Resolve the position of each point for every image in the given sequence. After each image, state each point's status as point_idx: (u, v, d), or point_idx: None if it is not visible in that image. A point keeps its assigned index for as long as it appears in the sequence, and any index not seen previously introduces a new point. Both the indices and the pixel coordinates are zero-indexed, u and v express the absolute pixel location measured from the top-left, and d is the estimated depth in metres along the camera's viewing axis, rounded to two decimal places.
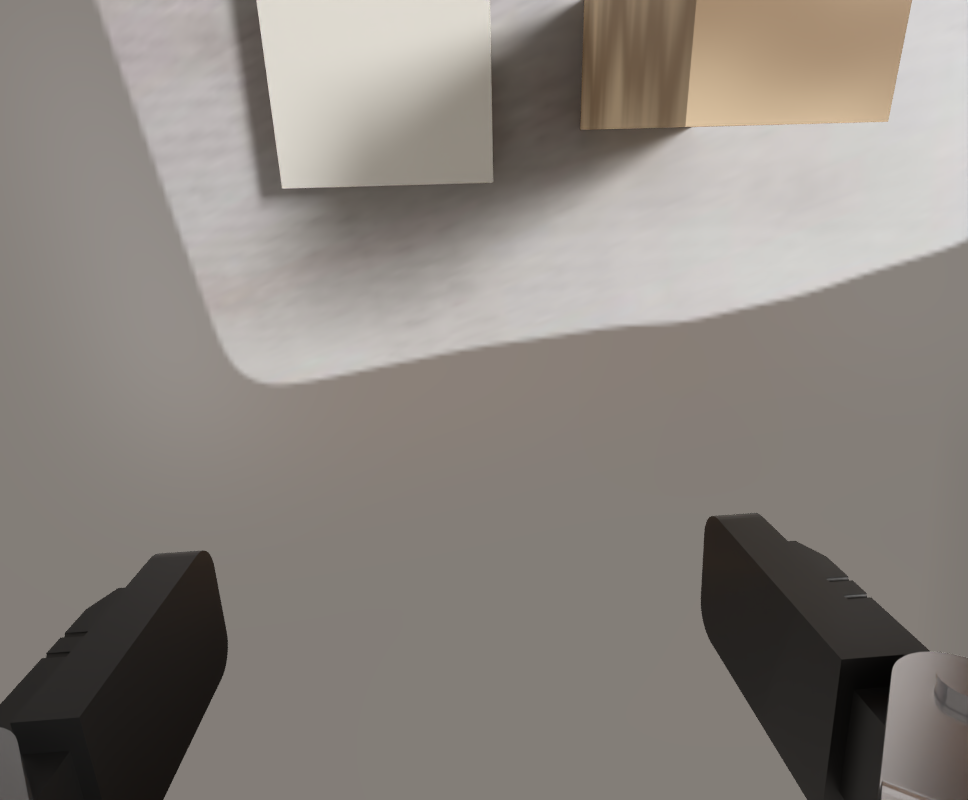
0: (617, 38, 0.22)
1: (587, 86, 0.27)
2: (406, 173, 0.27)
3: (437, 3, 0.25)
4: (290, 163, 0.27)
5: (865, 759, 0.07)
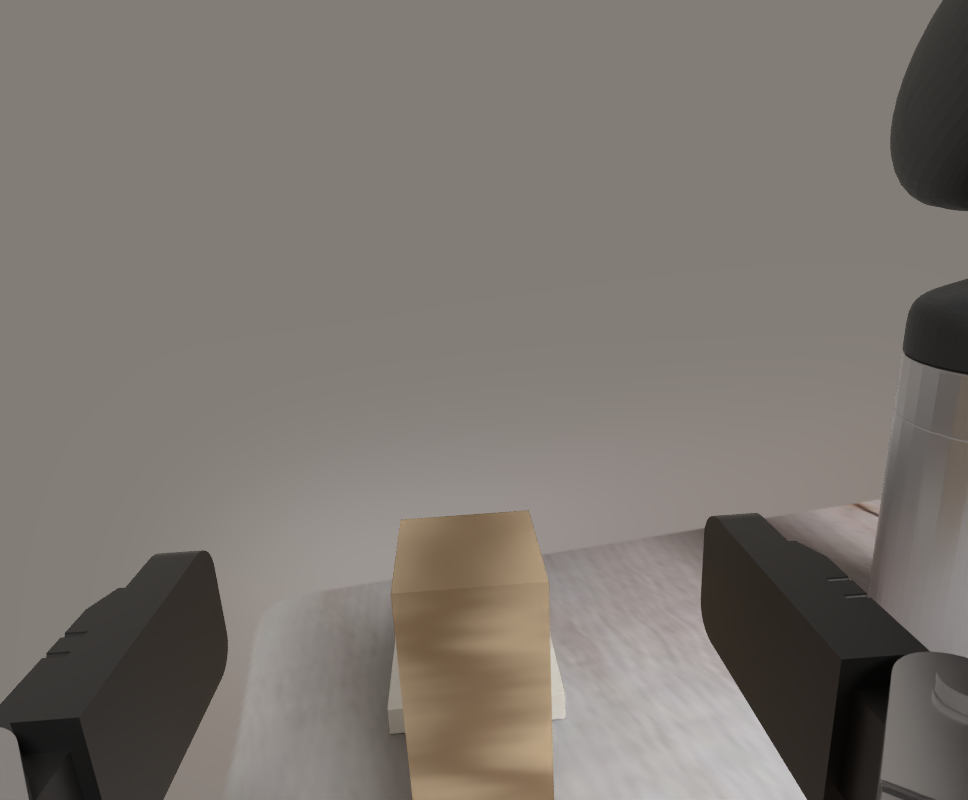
0: None
1: None
2: None
3: None
4: None
5: (865, 759, 0.07)
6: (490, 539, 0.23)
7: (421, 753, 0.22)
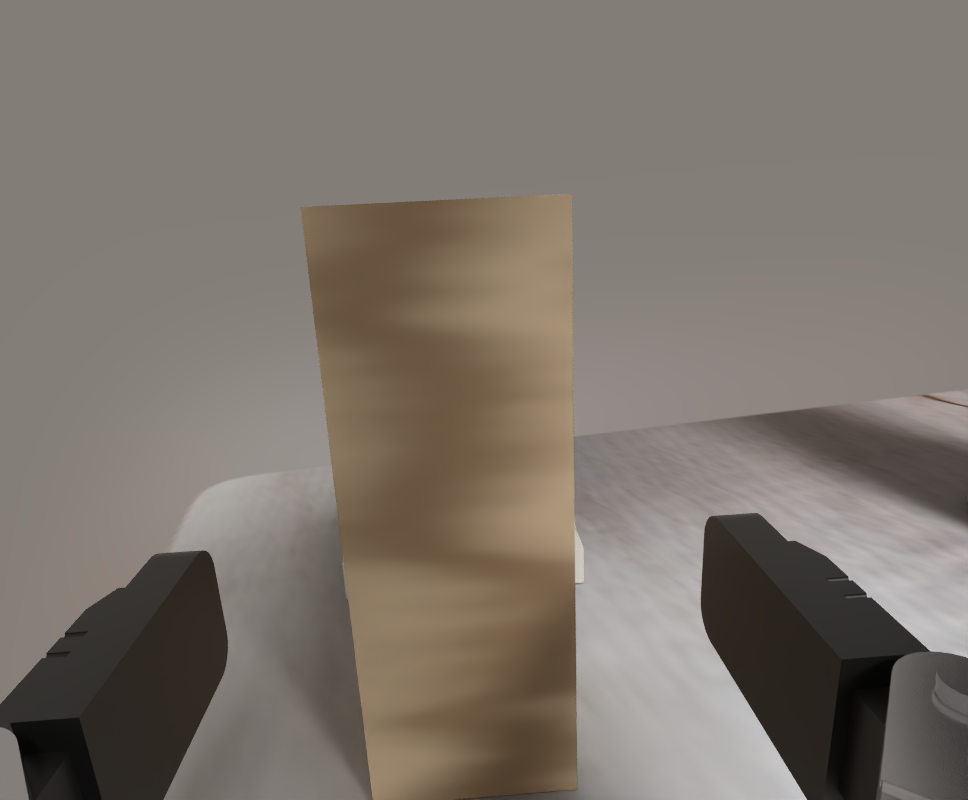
0: None
1: None
2: None
3: None
4: None
5: (865, 759, 0.07)
6: None
7: (361, 519, 0.14)
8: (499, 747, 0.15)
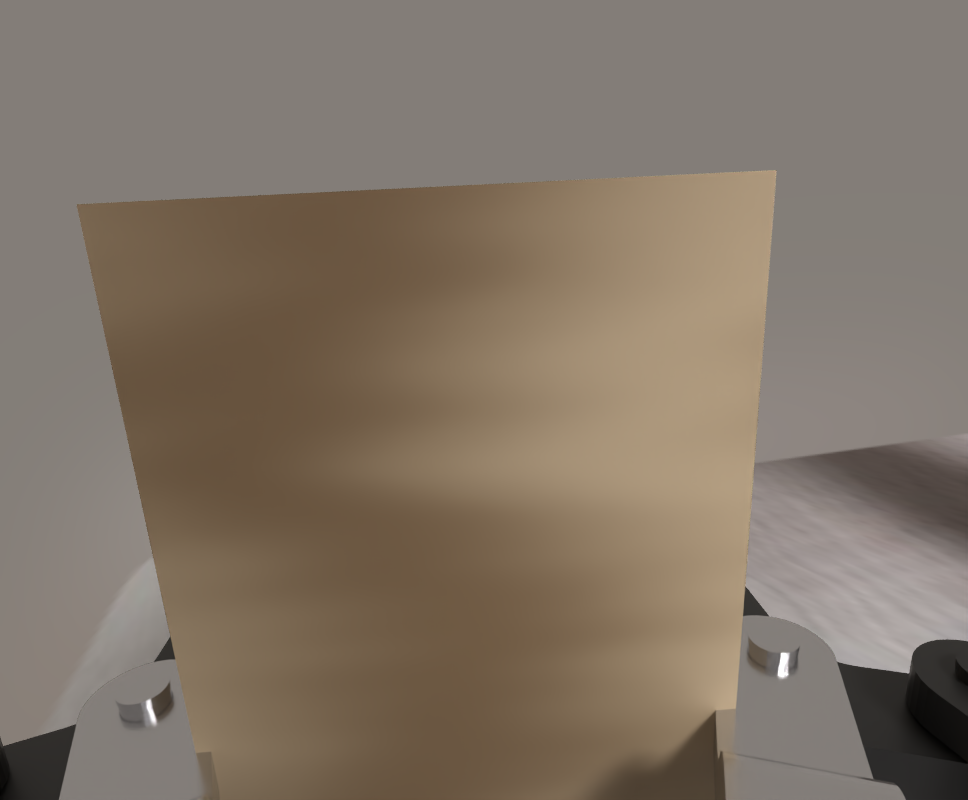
0: None
1: None
2: None
3: None
4: None
5: None
6: None
7: None
8: None
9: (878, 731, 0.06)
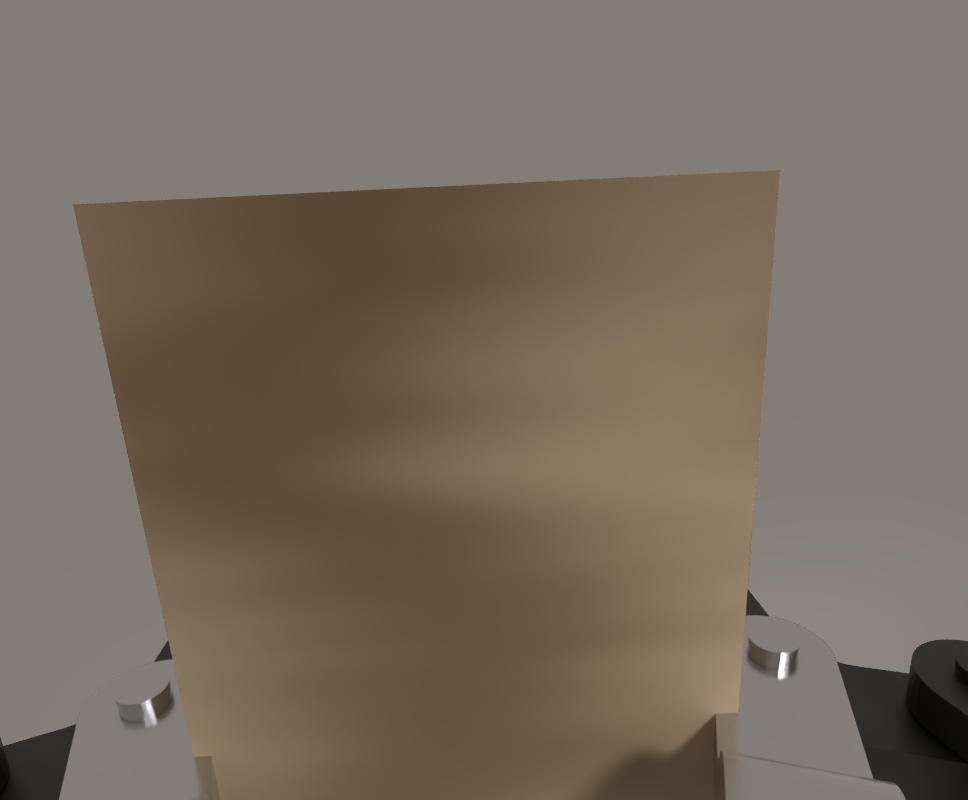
0: None
1: None
2: None
3: None
4: None
5: None
6: None
7: None
8: None
9: (878, 731, 0.06)
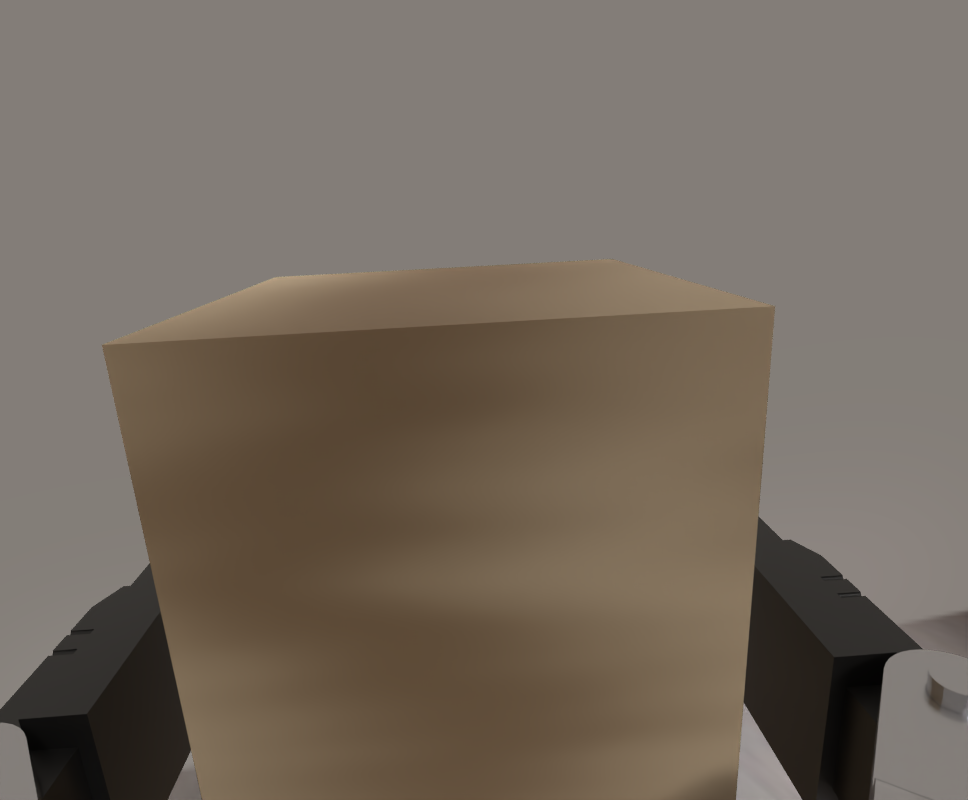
0: None
1: None
2: None
3: None
4: None
5: (858, 756, 0.07)
6: (519, 278, 0.08)
7: None
8: None
9: None
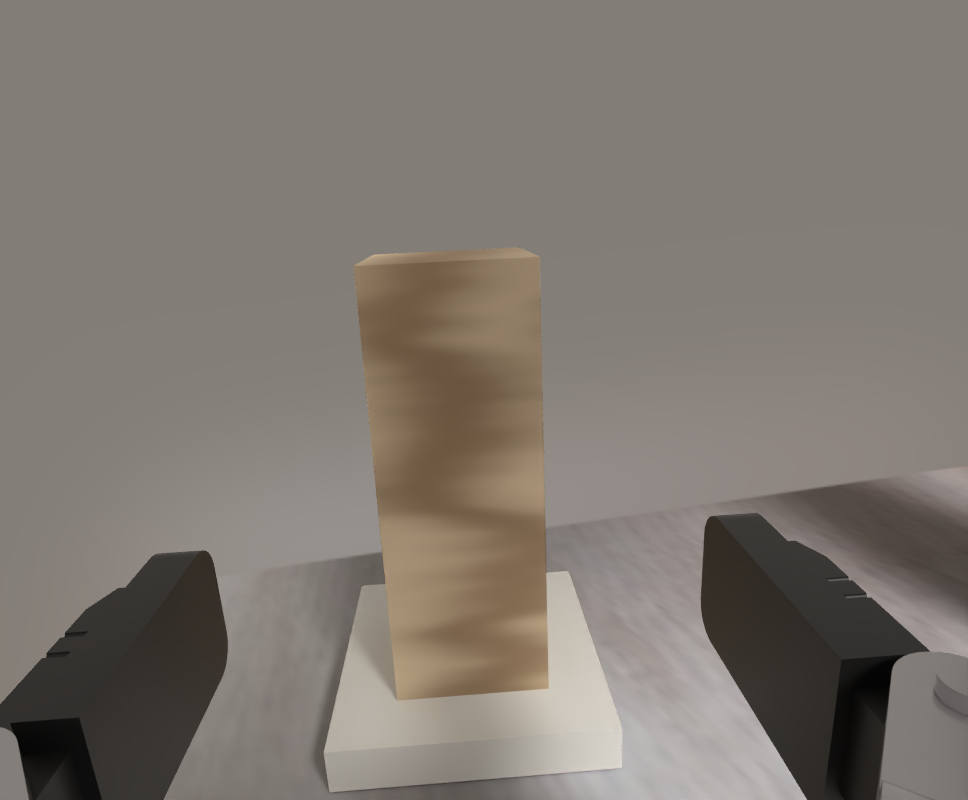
0: None
1: None
2: (356, 667, 0.23)
3: None
4: (383, 590, 0.27)
5: (865, 759, 0.07)
6: (474, 253, 0.20)
7: (391, 484, 0.19)
8: (490, 655, 0.21)
9: None
